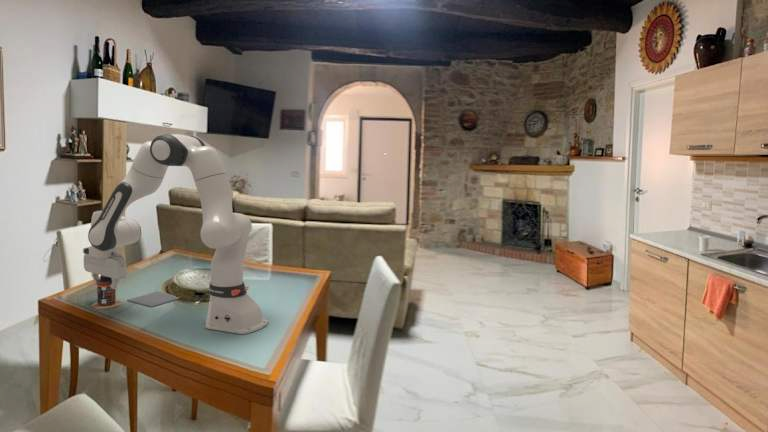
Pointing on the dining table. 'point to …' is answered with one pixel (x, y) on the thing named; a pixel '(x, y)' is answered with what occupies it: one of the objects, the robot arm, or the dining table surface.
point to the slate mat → (153, 299)
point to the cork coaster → (96, 306)
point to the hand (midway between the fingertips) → (105, 286)
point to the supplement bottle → (105, 292)
